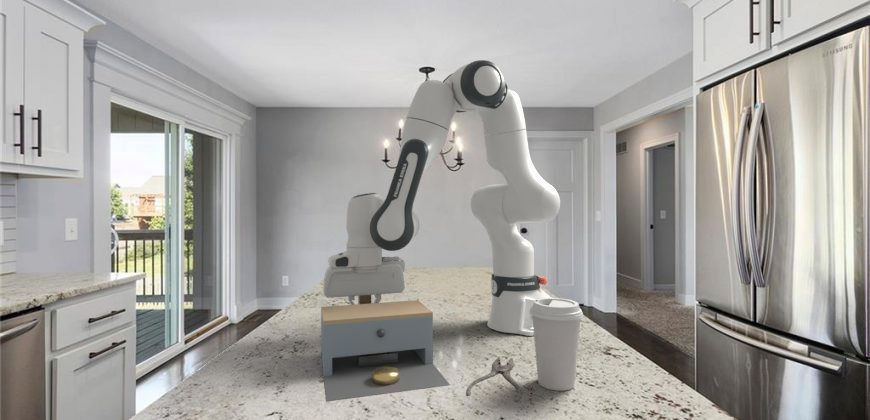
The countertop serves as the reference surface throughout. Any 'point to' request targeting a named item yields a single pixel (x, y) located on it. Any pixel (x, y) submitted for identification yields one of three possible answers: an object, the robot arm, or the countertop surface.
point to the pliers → (497, 369)
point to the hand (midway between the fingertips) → (364, 312)
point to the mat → (358, 383)
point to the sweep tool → (376, 357)
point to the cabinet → (375, 330)
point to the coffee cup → (556, 341)
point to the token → (385, 376)
